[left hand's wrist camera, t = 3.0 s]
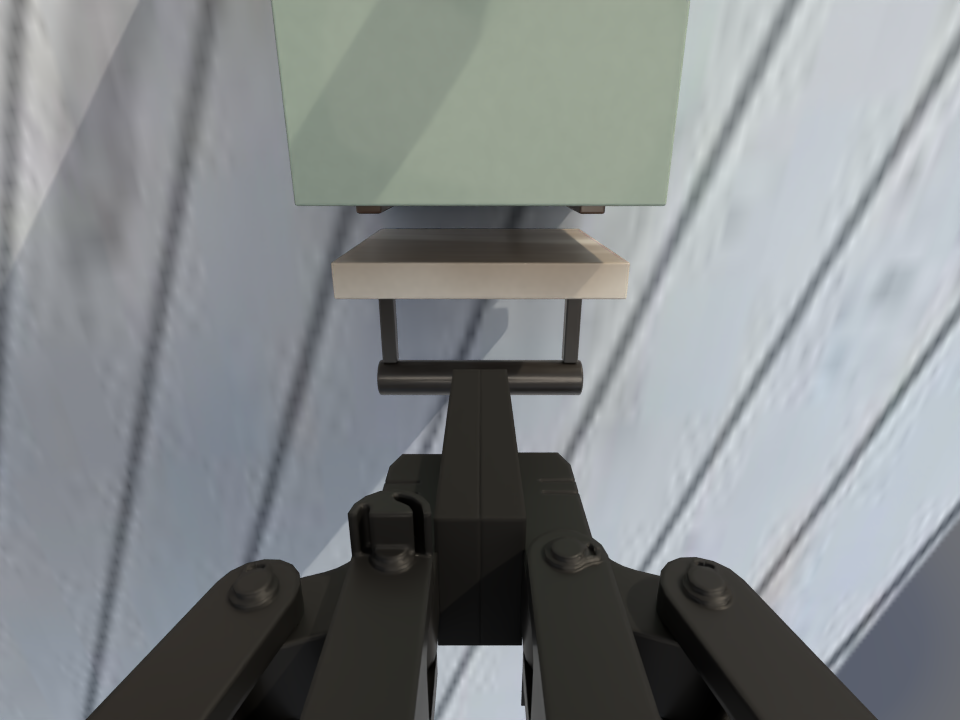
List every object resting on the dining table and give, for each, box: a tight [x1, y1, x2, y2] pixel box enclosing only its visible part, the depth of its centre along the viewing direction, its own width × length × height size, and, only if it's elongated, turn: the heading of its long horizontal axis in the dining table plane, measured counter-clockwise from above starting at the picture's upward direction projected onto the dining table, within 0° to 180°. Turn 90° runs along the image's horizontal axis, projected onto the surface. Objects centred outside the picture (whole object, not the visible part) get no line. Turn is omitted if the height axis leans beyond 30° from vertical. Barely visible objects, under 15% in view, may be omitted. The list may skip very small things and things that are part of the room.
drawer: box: [331, 206, 630, 395], centre depth 19 cm, size 24×10×9 cm, turn 0°
